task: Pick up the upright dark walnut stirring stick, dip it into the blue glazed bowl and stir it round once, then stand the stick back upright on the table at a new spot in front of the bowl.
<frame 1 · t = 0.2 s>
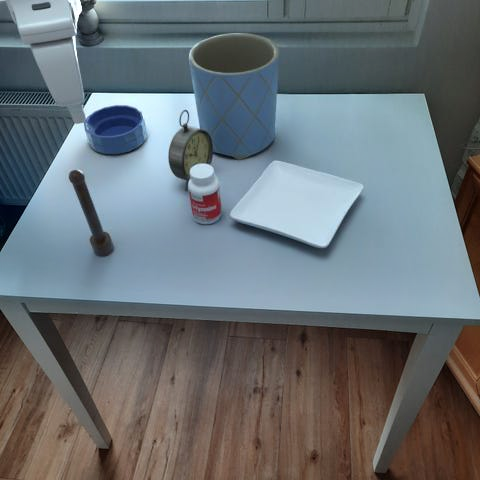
hand: (77, 104, 71), 29 cm above the table, tool pointing down, fingers open, 8 cm apart
planter: (238, 139, 115), on the table
bowl: (119, 139, 117), on the table
salad plate: (296, 212, 98), on the table
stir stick: (104, 249, 94), on the table
alarm clock: (193, 180, 106), on the table
pill bottle: (207, 216, 98), on the table
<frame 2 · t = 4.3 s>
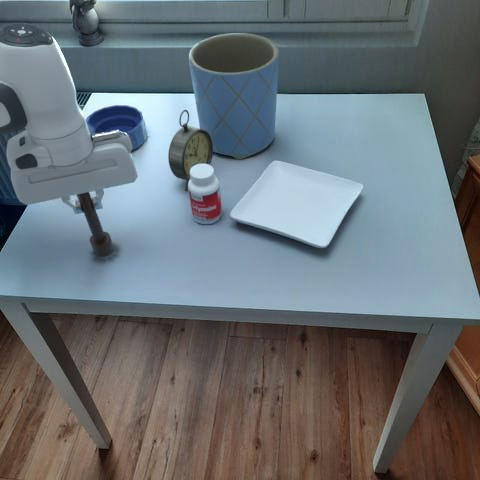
hand: (88, 209, 85), 10 cm above the table, tool pointing down, fingers closed on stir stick, 2 cm apart
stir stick: (104, 249, 94), on the table, touching gripper
everything else where it was.
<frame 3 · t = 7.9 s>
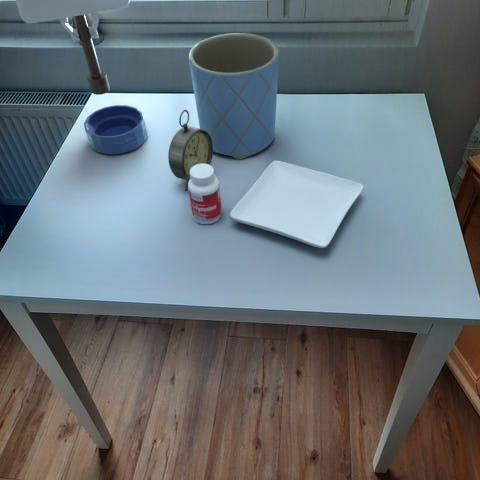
hand: (85, 39, 93), 26 cm above the table, tool pointing down, fingers closed on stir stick, 2 cm apart
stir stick: (100, 89, 101), point 16 cm above the table, touching gripper
everything else where it was.
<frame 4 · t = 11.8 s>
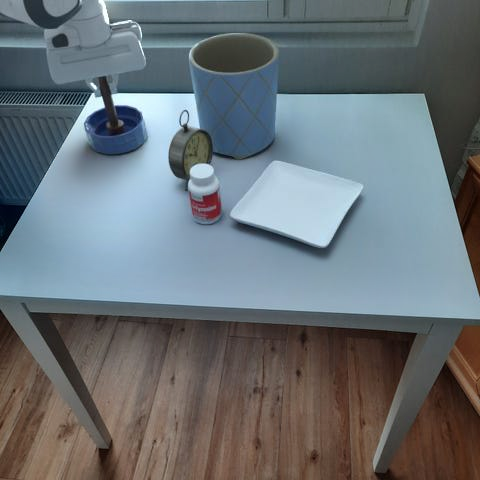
hand: (106, 94, 106), 12 cm above the table, tool pointing down, fingers closed on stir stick, 2 cm apart
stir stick: (117, 135, 114), point 2 cm above the table, touching gripper
everything else where it was.
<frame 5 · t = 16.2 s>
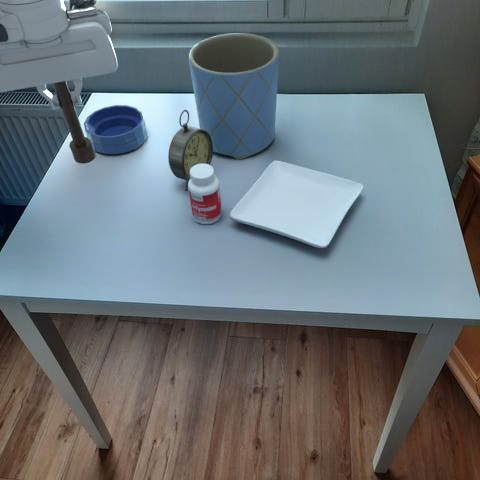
hand: (67, 105, 80), 24 cm above the table, tool pointing down, fingers closed on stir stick, 2 cm apart
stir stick: (85, 157, 88), point 14 cm above the table, touching gripper
everything else where it was.
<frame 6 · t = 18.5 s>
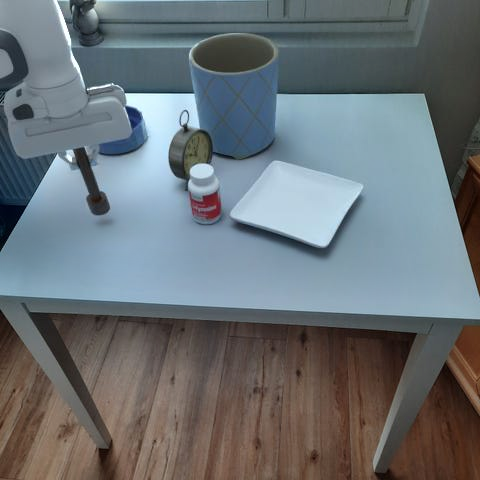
hand: (84, 166, 87), 14 cm above the table, tool pointing down, fingers closed on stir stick, 2 cm apart
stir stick: (100, 209, 95), point 4 cm above the table, touching gripper
everything else where it was.
when the fingers open (10 cm above the table, at t = 19.7 s): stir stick stays where it is, on the table.
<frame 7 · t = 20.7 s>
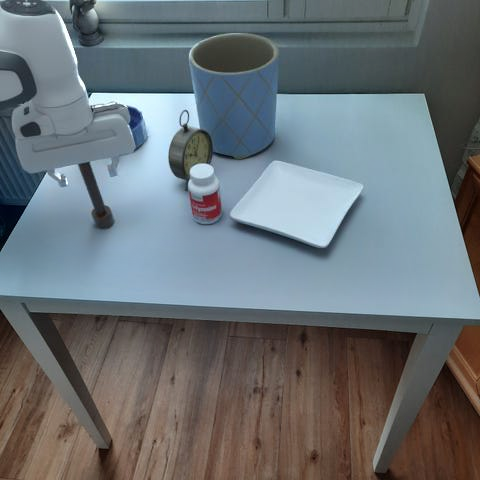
hand: (89, 180, 90), 11 cm above the table, tool pointing down, fingers open, 8 cm apart
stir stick: (105, 222, 98), on the table
everything else where it was.
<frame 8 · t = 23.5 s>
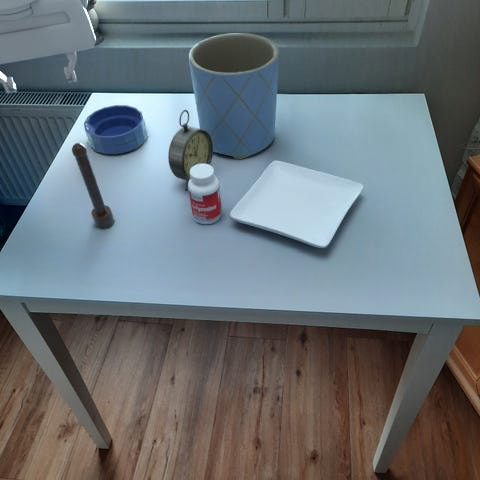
hand: (42, 85, 75), 29 cm above the table, tool pointing down, fingers open, 8 cm apart
nothing on the table moved.
at the end: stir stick tilted 0°; the gripper is holding nothing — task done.
